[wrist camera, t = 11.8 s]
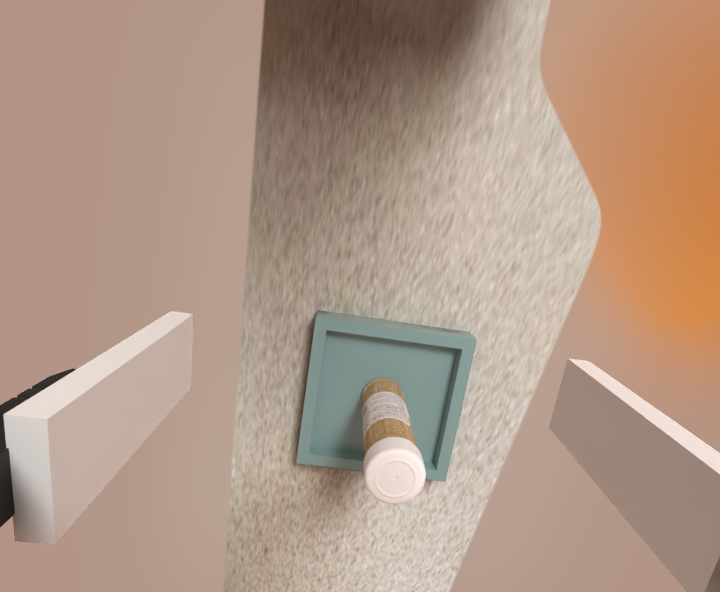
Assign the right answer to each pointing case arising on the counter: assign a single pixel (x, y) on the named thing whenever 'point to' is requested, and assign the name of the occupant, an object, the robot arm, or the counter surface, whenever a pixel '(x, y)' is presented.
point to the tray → (391, 361)
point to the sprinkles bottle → (390, 444)
